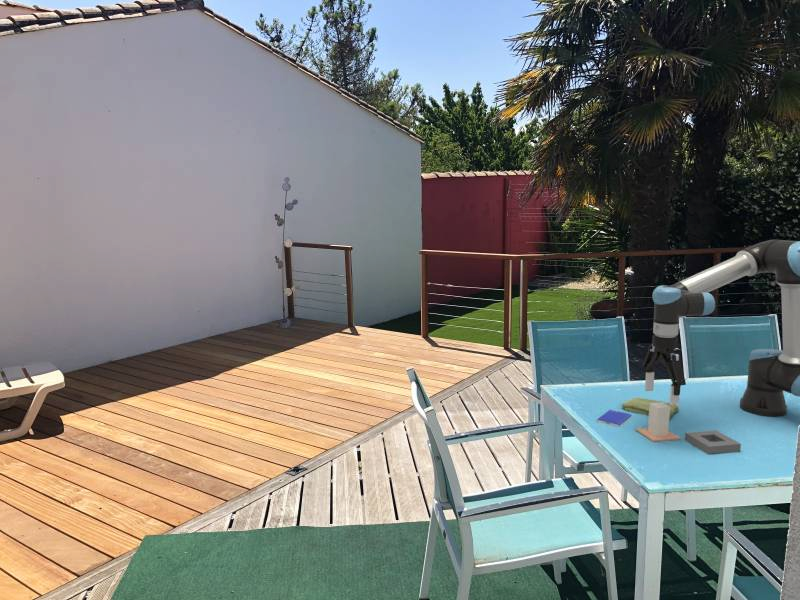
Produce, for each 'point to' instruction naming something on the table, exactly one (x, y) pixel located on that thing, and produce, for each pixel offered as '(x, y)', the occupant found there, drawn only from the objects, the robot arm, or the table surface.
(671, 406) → the washcloth
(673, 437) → the pad
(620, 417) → the hard drive
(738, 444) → the gray square ring
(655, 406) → the plug
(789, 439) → the table surface
